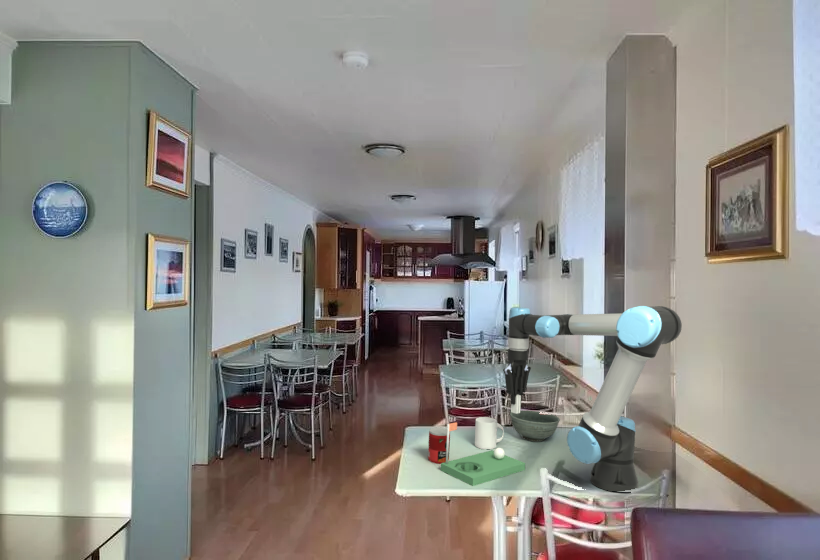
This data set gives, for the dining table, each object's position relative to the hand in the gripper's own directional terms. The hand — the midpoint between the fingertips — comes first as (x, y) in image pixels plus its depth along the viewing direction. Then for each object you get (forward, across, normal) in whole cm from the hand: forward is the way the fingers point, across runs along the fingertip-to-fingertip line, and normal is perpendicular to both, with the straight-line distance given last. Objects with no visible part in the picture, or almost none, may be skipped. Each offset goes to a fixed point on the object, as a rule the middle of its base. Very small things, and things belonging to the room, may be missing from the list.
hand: (515, 412), depth 198 cm
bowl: (+19, -29, -14) cm, 37 cm away
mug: (+19, -5, -17) cm, 26 cm away
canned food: (+19, +23, -16) cm, 34 cm away
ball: (+14, +8, 0) cm, 16 cm away
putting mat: (+18, +16, 0) cm, 24 cm away
